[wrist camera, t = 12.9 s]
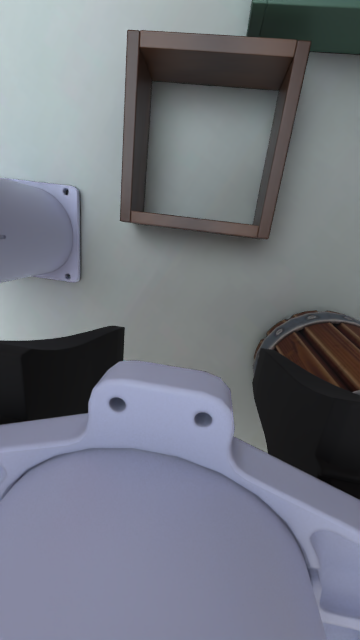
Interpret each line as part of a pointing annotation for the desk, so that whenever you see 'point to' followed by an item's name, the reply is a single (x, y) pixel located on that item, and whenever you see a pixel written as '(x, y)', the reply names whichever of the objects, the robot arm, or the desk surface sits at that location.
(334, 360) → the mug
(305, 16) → the green frame
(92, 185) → the desk surface
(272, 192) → the brown square frame
